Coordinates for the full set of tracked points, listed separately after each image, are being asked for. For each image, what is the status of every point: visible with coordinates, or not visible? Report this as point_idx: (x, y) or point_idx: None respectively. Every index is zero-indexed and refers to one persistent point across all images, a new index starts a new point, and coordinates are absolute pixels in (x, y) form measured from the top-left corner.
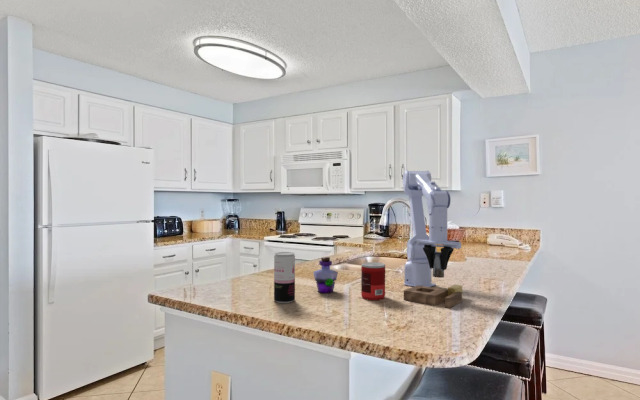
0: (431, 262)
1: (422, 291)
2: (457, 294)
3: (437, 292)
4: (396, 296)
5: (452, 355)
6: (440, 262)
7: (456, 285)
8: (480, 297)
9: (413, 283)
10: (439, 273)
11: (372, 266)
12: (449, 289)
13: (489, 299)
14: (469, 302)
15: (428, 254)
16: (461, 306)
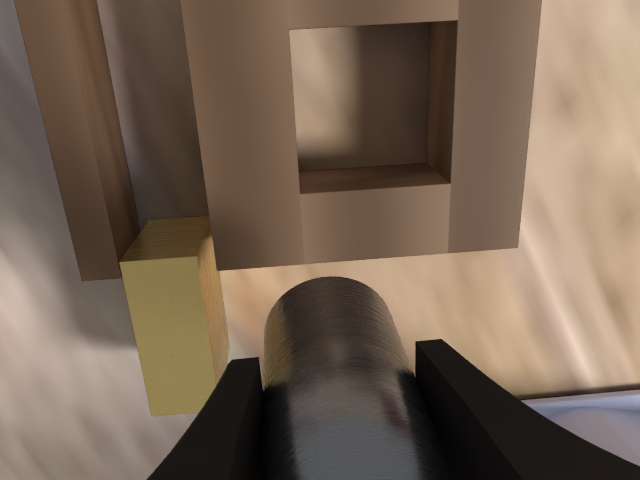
0: (445, 400)
1: (429, 174)
2: (57, 175)
3: (231, 102)
4: (609, 8)
5: None
6: (285, 427)
7: (190, 386)
8: (91, 444)
9: (621, 416)
10: (290, 315)
11: None
12: (182, 250)
13: (17, 438)
14: (57, 269)
15: (549, 463)
16: (21, 106)
